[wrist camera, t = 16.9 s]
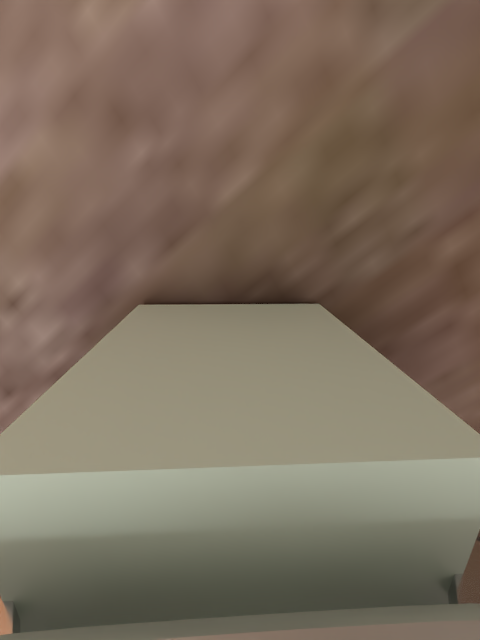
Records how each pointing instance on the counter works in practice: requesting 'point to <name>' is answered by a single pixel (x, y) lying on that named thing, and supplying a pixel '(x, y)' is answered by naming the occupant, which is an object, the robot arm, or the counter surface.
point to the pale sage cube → (232, 475)
